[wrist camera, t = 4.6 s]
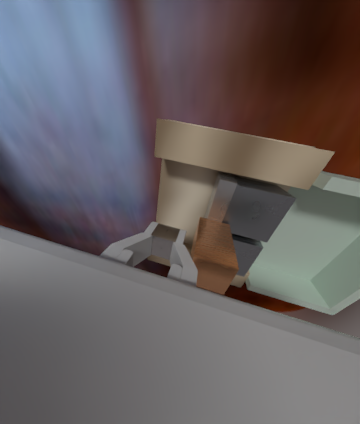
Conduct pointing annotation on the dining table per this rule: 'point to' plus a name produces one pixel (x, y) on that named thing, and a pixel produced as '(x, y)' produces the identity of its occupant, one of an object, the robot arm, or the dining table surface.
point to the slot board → (188, 193)
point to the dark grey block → (257, 209)
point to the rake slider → (216, 240)
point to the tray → (314, 248)
